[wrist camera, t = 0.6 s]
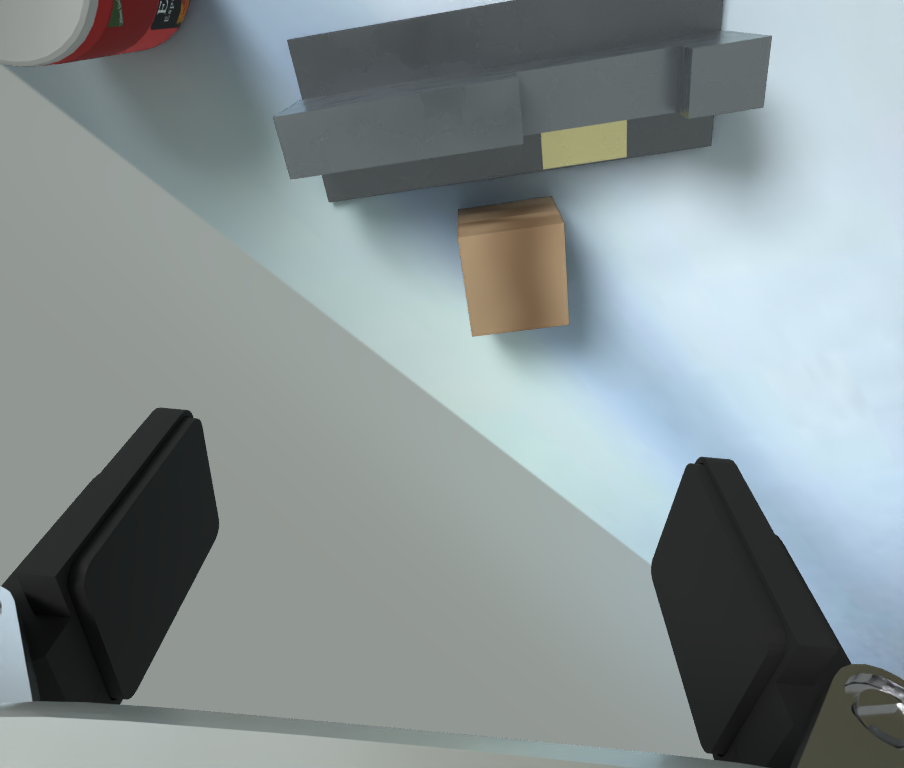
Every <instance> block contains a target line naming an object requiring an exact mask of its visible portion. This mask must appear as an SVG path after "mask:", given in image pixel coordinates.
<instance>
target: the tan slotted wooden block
mask: <svg viewBox="0 0 904 768" xmlns="http://www.w3.org/2000/svg"><path fill="white" fill-rule="evenodd" d="M458 243H459V250H460V257H461V264H462V271H463V277H464V284H465V291H466V298H467V305H468V311H469V318H470V325H471V332H472V337H473V336H481V335H489V334H497V333H506V332H514V331H522V330H530V329H538V328H546V327H554V326H562V325H569V316H568V295H567V274H566V253H565V233H564V222H563V220H562V217H561V215H560V213H559V211H558V209H557V207H556V204H555V202H554V200H553V198H552V196H548V197H541V198H534V199H528V200H521V201H514V202H507V203H500V204H493V205H486V206H479V207H472V208H465V209H458Z"/></svg>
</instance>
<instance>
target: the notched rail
mask: <svg viewBox="0 0 904 768" xmlns="http://www.w3.org/2000/svg"><path fill="white" fill-rule="evenodd" d="M722 6H723V0H513V1H507V2H501V3H495V4H490V5H484V6H478V7H473V8H467V9H461V10H455V11H450V12H444V13H438V14H433V15H427V16H421V17H415V18H410V19H404V20H398V21H392V22H387V23H381V24H375V25H370V26H364V27H358V28H352V29H347V30H341V31H335V32H329V33H324V34H318V35H312V36H307V37H301V38H295V39H289V40H287V41H288V45H289V49H290V53H291V57H292V61H293V65H294V69H295V73H296V76H297V80H298V84H299V88H300V92H301V96H302V100H300V101H298V102H297V103H295V104H293V105H292V106H290V107H289V108H287V109H285V110H284V111H282V112H280V113H279V114H277V115H275V116H274V117H273V120H274V123H275V127H276V130H277V134H278V137H279V141H280V144H281V148H282V151H283V155H284V158H285V162H286V165H287V169H288V172H289V176H290V179H297V178H304V177H310V176H317V175H322V178H323V181H324V185H325V189H326V193H327V197H328V201H329V202H335V201H341V200H348V199H355V198H362V197H368V196H375V195H382V194H389V193H395V192H402V191H409V190H416V189H422V188H429V187H436V186H443V185H449V184H456V183H463V182H470V181H476V180H483V179H490V178H497V177H504V176H510V175H517V174H524V173H531V172H537V171H544V170H551V169H558V168H564V167H571V166H578V165H585V164H591V163H598V162H605V161H612V160H618V159H625V158H632V157H639V156H645V155H652V154H659V153H666V152H672V151H679V150H686V149H693V148H699V147H706V146H711V143H712V130H713V118H714V115H717V114H723V113H730V112H737V111H743V110H750V109H756V108H763V106H764V98H765V90H766V81H767V73H768V65H769V56H770V48H771V40H772V36H769V35H760V34H751V33H742V32H733V31H724V30H721V18H722Z"/></svg>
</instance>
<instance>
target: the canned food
mask: <svg viewBox="0 0 904 768" xmlns="http://www.w3.org/2000/svg"><path fill="white" fill-rule="evenodd" d="M189 3H190V0H0V64H5V65H11V66H24V67H30V66H45V65H52V64H62V63H68V62H74V61H80V60H86V59H93V58H99V57H105V56H111V55H117V54H123V53H129V52H135V51H141V50H146V49H149V48H153V47H156V46H158V45H160V44H161V43H163V42H165V41H166V40H168V39H169V38H170V37H171V36H172V35H173V34H174V33H175V32H176V31H177V30H178V28H179V26H180V25H181V23H182V21H183V19H184V18H185V16H186V13H187V10H188V7H189Z"/></svg>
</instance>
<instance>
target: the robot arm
mask: <svg viewBox="0 0 904 768" xmlns="http://www.w3.org/2000/svg"><path fill="white" fill-rule="evenodd" d="M218 529H219V518H218V512H217V507H216V501H215V496H214V490H213V484H212V479H211V473H210V467H209V461H208V456H207V451H206V445H205V440H204V433H203V428H202V423H201V421H200V420H199V419H196V418H193V415H192V413H191V412H190V411H188V410H180V409H168V408H156V409H155V410H154V411H153V412H152V413H151V414H150V415H149V417H148V418H147V419H146V420H145V421H144V422H143V424H142V425H141V426H140V427H139V428H138V429H137V431H136V432H135V433H134V434H133V435H132V437H131V438H130V439H129V440H128V441H127V442H126V444H125V445H124V446H123V447H122V448H121V450H120V451H119V452H118V453H117V454H116V455H115V456H114V458H113V459H112V460H111V461H110V462H109V463H108V465H107V466H106V467H105V468H104V469H103V470H102V472H101V473H100V474H98V475H97V476H96V477H95V478H94V479H93V480H92V481H91V482H90V483H89V484H88V485H87V487H86V488H85V489H84V490H83V491H82V492H81V494H80V495H79V496H78V497H77V498H76V499H75V501H74V502H73V503H72V504H71V505H70V506H69V508H68V509H67V510H66V511H65V512H64V514H63V515H62V516H61V517H60V518H59V519H58V520H57V522H56V523H55V524H54V525H53V526H52V527H51V529H50V530H49V531H48V532H47V533H46V534H45V536H44V537H43V538H42V539H41V540H40V541H39V543H38V544H37V545H36V546H35V547H34V548H33V550H32V551H31V552H30V553H29V554H28V556H27V557H26V558H25V559H24V560H23V561H22V562H21V564H20V565H19V566H18V567H17V568H16V569H15V571H14V572H13V573H12V574H11V575H10V576H9V578H8V579H7V580H6V581H5V582H4V583H3V585H2V586H0V768H904V680H903V679H901V678H900V677H898V676H896V675H894V674H892V673H890V672H888V671H886V670H884V669H881V668H877V667H874V666H870V665H866V664H851V662H850V661H849V659H848V657H847V655H846V654H845V652H844V650H843V648H842V646H841V645H840V643H839V641H838V639H837V638H836V636H835V634H834V632H833V630H832V629H831V627H830V625H829V623H828V622H827V620H826V618H825V616H824V615H823V613H822V611H821V609H820V607H819V606H818V604H817V602H816V600H815V599H814V597H813V595H812V593H811V591H810V590H809V588H808V586H807V584H806V583H805V581H804V579H803V577H802V576H801V574H800V572H799V570H798V568H797V567H796V565H795V563H794V561H793V560H792V558H791V556H790V554H789V553H788V551H787V549H786V547H785V545H784V544H783V542H782V541H781V540H780V538H779V537H778V536H777V535H775V534H774V532H773V530H772V528H771V526H770V525H769V523H768V521H767V519H766V517H765V516H764V514H763V512H762V510H761V509H760V507H759V505H758V503H757V501H756V500H755V498H754V496H753V494H752V492H751V491H750V489H749V487H748V485H747V483H746V482H745V480H744V478H743V476H742V474H741V473H740V471H739V469H738V467H737V465H736V464H735V463H734V461H732V460H730V459H720V458H709V457H700V458H698V459H697V460H696V462H695V464H691V463H690V464H688V465H687V466H686V468H685V471H684V474H683V476H682V479H681V482H680V485H679V487H678V490H677V493H676V496H675V499H674V501H673V504H672V507H671V510H670V512H669V515H668V518H667V521H666V524H665V526H664V529H663V532H662V535H661V537H660V540H659V543H658V546H657V549H656V551H655V554H654V557H653V560H652V565H651V574H652V580H653V583H654V587H655V590H656V594H657V597H658V601H659V604H660V607H661V611H662V614H663V617H664V621H665V624H666V627H667V631H668V635H669V638H670V641H671V645H672V648H673V651H674V655H675V658H676V662H677V665H678V669H679V672H680V675H681V679H682V682H683V686H684V689H685V692H686V696H687V699H688V703H689V706H690V709H691V713H692V716H693V720H694V723H695V726H696V730H697V733H698V737H699V740H700V743H701V746H702V748H703V749H704V751H705V752H706V753H711V754H713V758H714V760H709V759H701V758H692V757H683V756H674V755H666V754H658V753H649V752H639V751H630V750H619V749H608V748H599V747H589V746H579V745H569V744H557V743H548V742H537V741H528V740H518V739H507V738H497V737H486V736H476V735H465V734H454V733H444V732H432V731H422V730H412V729H401V728H390V727H379V726H368V725H356V724H346V723H335V722H324V721H312V720H302V719H290V718H279V717H268V716H256V715H245V714H233V713H221V712H210V711H199V710H187V709H174V708H161V707H146V706H132V705H120V703H121V702H122V700H123V699H130V698H131V697H132V696H133V695H134V694H135V692H136V690H137V689H138V687H139V685H140V683H141V681H142V679H143V677H144V675H145V673H146V671H147V669H148V668H149V666H150V664H151V662H152V660H153V658H154V656H155V654H156V652H157V650H158V649H159V647H160V645H161V643H162V641H163V639H164V637H165V635H166V633H167V631H168V629H169V627H170V625H171V624H172V622H173V620H174V618H175V616H176V614H177V612H178V610H179V608H180V606H181V604H182V603H183V600H184V599H185V597H186V595H187V593H188V591H189V589H190V587H191V585H192V583H193V582H194V580H195V578H196V575H197V574H198V572H199V570H200V568H201V566H202V564H203V562H204V560H205V558H206V557H207V555H208V553H209V551H210V549H211V547H212V545H213V543H214V541H215V539H216V536H217V534H218Z"/></svg>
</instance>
